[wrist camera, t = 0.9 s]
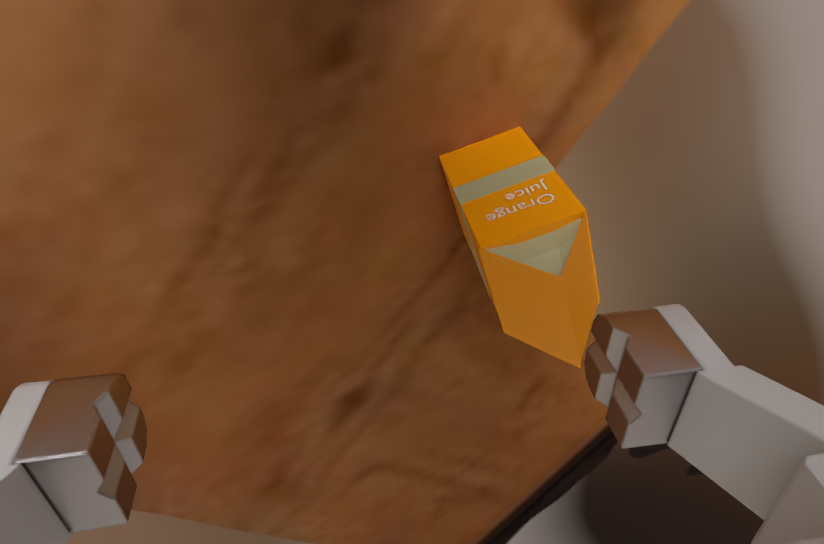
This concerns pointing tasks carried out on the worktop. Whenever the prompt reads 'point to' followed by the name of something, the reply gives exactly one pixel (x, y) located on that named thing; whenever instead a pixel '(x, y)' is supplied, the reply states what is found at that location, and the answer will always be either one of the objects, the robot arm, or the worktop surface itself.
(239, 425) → the worktop surface
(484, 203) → the orange juice
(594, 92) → the worktop surface
